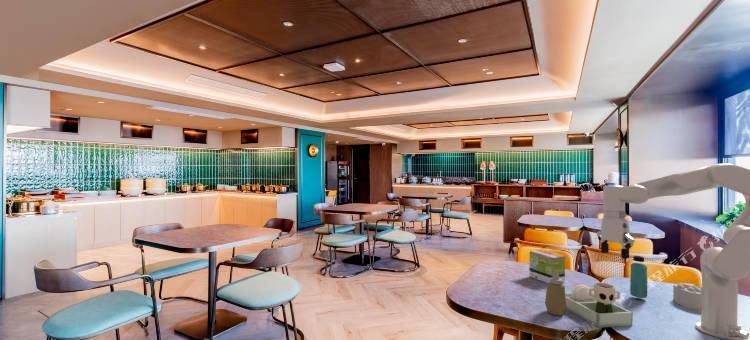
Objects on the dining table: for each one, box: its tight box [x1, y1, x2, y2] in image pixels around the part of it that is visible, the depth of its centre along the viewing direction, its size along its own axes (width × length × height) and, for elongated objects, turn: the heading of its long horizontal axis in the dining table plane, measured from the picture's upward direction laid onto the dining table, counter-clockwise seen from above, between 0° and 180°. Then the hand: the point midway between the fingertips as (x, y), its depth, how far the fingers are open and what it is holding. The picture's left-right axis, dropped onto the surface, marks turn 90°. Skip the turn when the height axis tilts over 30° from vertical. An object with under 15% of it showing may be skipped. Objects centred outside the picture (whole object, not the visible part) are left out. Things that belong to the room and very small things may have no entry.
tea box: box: [528, 249, 566, 284], centre depth 186 cm, size 15×10×15 cm, turn 25°
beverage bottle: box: [629, 255, 649, 299], centre depth 160 cm, size 6×7×20 cm
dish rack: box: [565, 292, 634, 329], centre depth 142 cm, size 22×15×5 cm
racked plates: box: [571, 284, 595, 301], centre depth 148 cm, size 3×9×9 cm, turn 98°
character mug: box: [589, 282, 621, 314], centre depth 137 cm, size 11×7×13 cm, turn 74°
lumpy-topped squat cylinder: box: [672, 282, 702, 311], centre depth 154 cm, size 10×13×9 cm
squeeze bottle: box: [544, 270, 567, 317], centre depth 143 cm, size 8×8×18 cm
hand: (614, 255), depth 144 cm, fingers open, 9 cm apart
